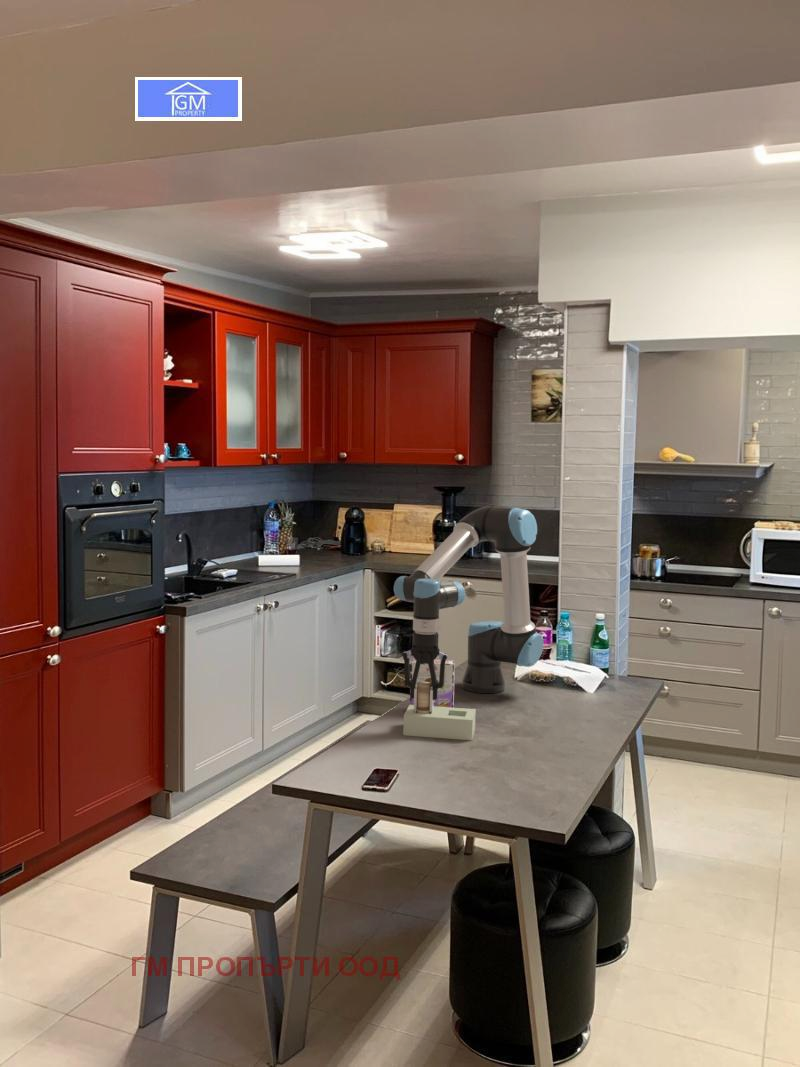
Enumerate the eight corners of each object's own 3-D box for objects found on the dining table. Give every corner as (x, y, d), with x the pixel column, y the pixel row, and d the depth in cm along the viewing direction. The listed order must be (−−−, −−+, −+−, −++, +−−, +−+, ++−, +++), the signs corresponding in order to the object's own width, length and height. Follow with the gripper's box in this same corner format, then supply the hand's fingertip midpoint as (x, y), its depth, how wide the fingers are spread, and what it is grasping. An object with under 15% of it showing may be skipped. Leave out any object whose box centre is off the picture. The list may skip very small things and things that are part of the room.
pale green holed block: (409, 723, 288) (409, 704, 287) (475, 728, 285) (475, 709, 284) (403, 735, 277) (403, 715, 276) (471, 740, 274) (472, 720, 273)
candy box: (453, 709, 304) (455, 659, 302) (452, 715, 298) (454, 663, 296) (410, 707, 305) (412, 657, 303) (409, 713, 299) (410, 661, 297)
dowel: (417, 727, 284) (418, 681, 283) (430, 727, 283) (431, 681, 282) (415, 731, 280) (416, 684, 279) (429, 732, 279) (430, 685, 278)
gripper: (394, 632, 276) (392, 711, 279) (453, 636, 273) (450, 715, 276) (399, 627, 284) (397, 704, 286) (456, 630, 281) (453, 708, 283)
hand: (423, 709), depth 281 cm, fingers closed on dowel, 4 cm apart
